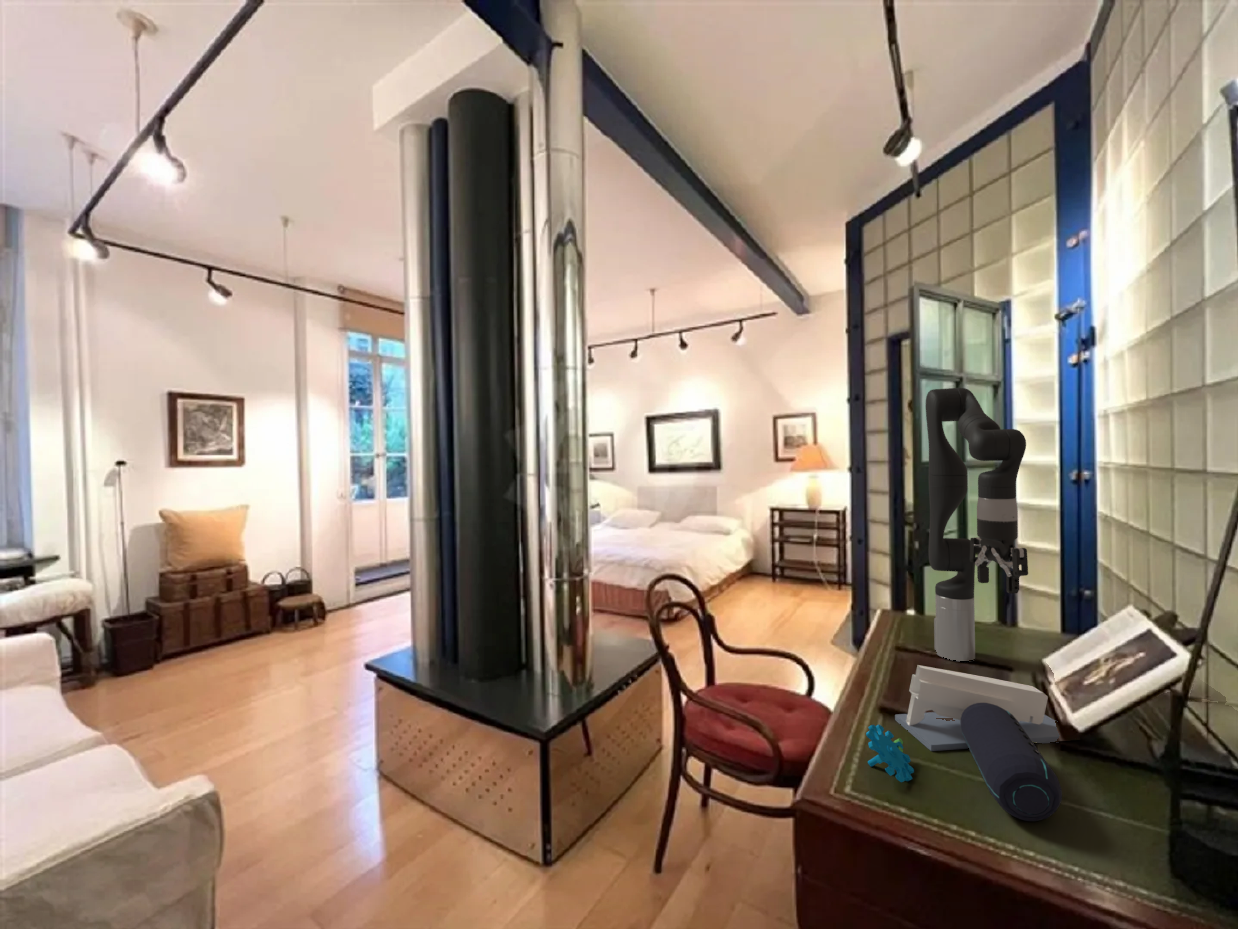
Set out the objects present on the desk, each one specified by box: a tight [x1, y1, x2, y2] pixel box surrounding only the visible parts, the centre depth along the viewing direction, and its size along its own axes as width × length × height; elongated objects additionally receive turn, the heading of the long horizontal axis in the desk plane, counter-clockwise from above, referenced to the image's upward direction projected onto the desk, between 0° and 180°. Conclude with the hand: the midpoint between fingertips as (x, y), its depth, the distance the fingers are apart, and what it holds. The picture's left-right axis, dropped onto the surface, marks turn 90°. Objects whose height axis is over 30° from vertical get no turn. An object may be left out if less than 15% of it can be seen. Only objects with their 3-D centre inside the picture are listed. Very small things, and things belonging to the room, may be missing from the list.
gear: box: [865, 724, 915, 783], centre depth 98 cm, size 11×6×10 cm
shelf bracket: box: [906, 664, 1049, 726], centre depth 110 cm, size 6×25×13 cm, turn 85°
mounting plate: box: [894, 711, 1060, 752], centre depth 110 cm, size 12×31×1 cm, turn 94°
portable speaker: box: [960, 703, 1063, 822], centre depth 92 cm, size 25×10×10 cm, turn 159°
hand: (997, 587), depth 120 cm, fingers open, 8 cm apart
